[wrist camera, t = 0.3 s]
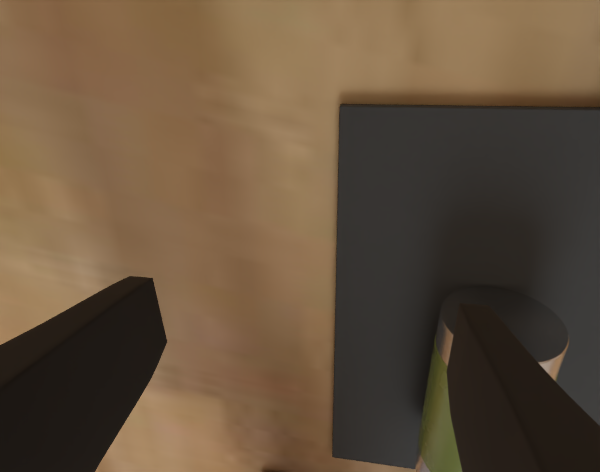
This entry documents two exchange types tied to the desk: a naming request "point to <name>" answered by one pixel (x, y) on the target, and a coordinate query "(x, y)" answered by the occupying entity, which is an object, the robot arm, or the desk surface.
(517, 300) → the can
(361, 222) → the mat
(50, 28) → the desk surface
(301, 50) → the desk surface
